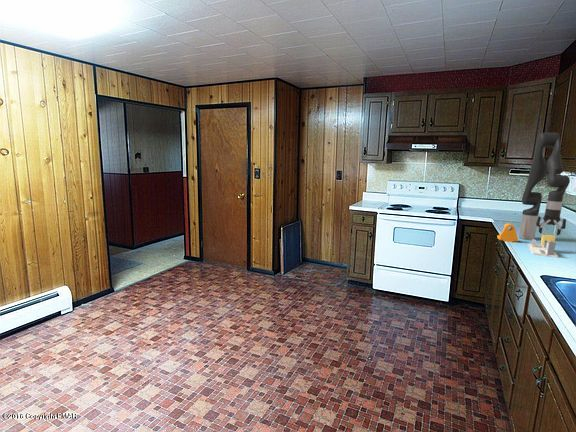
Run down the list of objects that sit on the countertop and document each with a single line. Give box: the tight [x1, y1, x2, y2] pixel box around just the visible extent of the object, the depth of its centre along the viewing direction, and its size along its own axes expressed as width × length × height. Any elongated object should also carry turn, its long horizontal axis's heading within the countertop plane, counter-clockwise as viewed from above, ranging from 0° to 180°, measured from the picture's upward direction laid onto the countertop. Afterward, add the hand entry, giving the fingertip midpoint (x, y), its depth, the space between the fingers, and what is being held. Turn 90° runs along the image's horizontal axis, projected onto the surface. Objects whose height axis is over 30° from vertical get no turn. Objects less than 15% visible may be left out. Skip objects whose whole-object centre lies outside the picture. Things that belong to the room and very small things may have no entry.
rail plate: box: [527, 239, 559, 258], centre depth 213 cm, size 24×12×8 cm, turn 152°
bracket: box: [497, 222, 519, 243], centre depth 238 cm, size 11×7×12 cm, turn 73°
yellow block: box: [540, 233, 557, 246], centre depth 213 cm, size 5×6×6 cm
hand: (548, 234), depth 212 cm, fingers open, 8 cm apart
